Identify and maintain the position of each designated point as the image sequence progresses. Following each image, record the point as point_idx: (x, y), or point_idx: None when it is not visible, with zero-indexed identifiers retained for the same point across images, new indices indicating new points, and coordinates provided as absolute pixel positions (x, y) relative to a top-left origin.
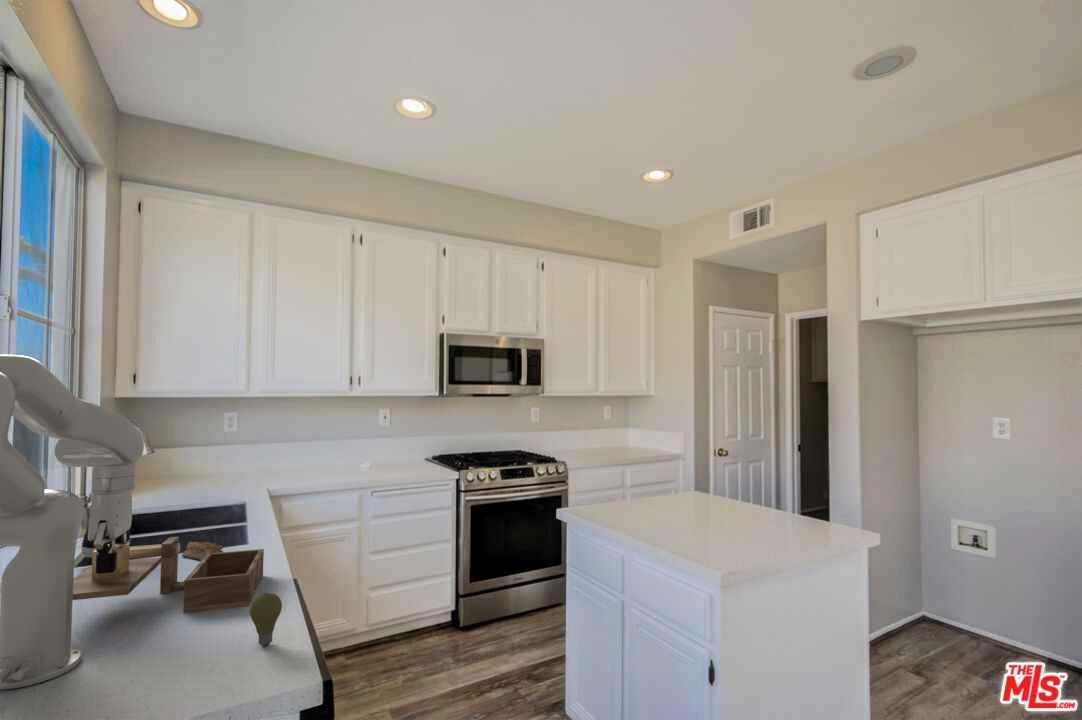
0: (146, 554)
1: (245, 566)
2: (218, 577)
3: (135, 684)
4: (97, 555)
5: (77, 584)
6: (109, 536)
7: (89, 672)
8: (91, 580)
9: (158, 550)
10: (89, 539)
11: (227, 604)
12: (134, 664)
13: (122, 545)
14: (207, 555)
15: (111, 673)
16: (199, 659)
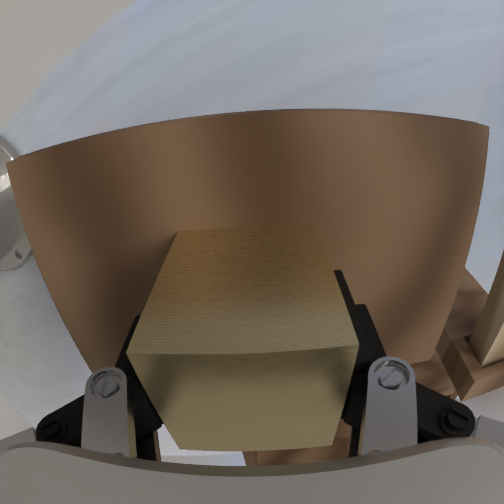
0: (493, 300)
1: None
2: (243, 453)
3: (4, 348)
4: (124, 362)
5: (122, 193)
6: (363, 441)
7: (4, 290)
8: (177, 231)
9: (484, 341)
10: (2, 456)
11: None
12: (34, 337)
13: (277, 440)
14: (448, 391)
15: (10, 318)
16: (64, 394)
